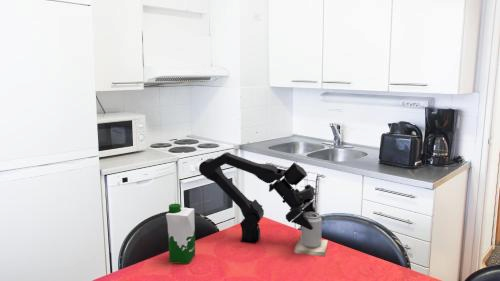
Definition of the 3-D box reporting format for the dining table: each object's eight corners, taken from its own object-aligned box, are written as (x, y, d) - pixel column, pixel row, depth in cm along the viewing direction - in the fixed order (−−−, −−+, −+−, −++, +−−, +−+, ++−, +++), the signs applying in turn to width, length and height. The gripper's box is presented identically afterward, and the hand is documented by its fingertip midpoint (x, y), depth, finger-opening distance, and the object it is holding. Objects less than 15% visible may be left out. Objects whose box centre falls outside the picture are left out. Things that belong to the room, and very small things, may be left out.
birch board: (294, 252, 148) (294, 249, 147) (299, 240, 158) (299, 237, 158) (324, 256, 145) (324, 252, 144) (327, 243, 155) (327, 240, 155)
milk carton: (175, 252, 149) (173, 201, 146) (198, 254, 148) (196, 202, 144) (166, 263, 141) (163, 209, 137) (190, 265, 139) (188, 210, 136)
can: (324, 247, 148) (325, 216, 146) (305, 249, 147) (306, 218, 145) (316, 239, 156) (317, 209, 154) (298, 241, 154) (298, 211, 152)
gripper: (294, 186, 140) (324, 221, 137) (309, 173, 157) (336, 204, 154) (273, 205, 145) (302, 239, 142) (290, 191, 161) (316, 220, 159)
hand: (315, 224), depth 149 cm, fingers open, 9 cm apart
